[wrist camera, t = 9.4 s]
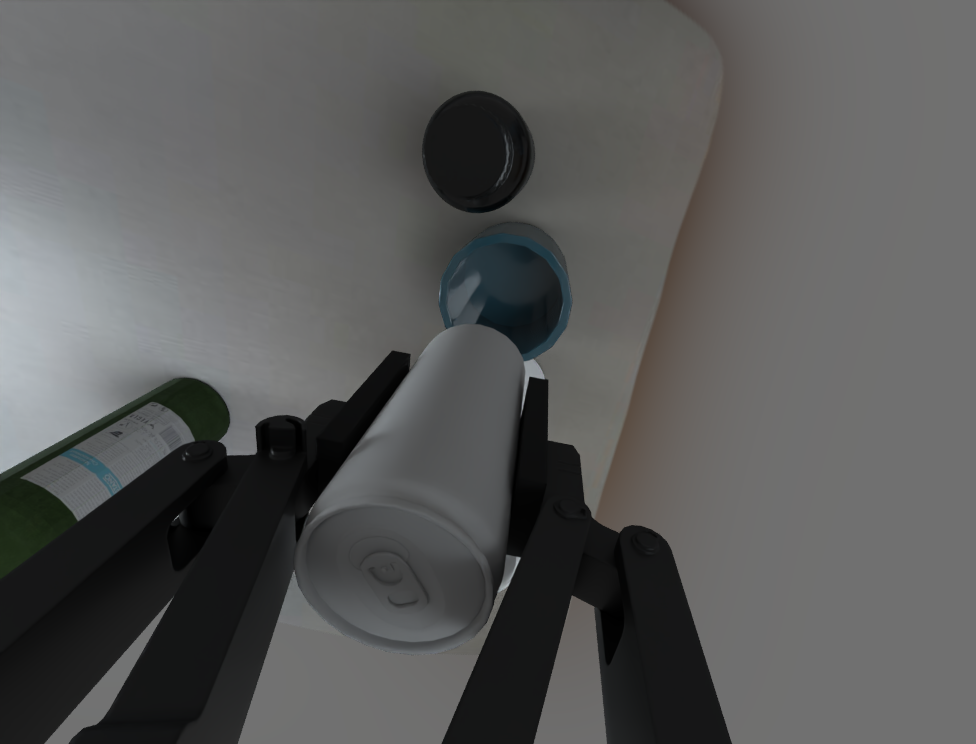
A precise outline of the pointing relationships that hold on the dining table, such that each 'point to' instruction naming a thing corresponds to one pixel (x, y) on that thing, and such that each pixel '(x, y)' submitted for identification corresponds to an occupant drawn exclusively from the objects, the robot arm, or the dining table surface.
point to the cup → (509, 286)
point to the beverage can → (422, 503)
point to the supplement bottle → (477, 152)
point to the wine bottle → (100, 464)
